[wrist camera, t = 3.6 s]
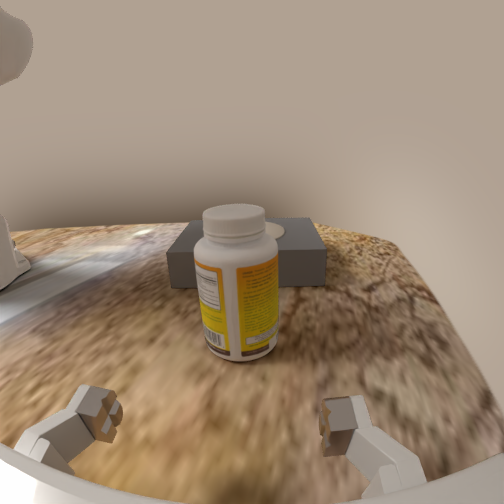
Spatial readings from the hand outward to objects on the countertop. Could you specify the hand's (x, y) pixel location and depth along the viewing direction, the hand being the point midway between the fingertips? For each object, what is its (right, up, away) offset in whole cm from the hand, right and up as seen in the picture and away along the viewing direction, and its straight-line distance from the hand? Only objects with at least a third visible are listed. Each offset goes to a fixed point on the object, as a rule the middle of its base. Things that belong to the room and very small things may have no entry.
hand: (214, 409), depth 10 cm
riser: (+1, +4, +27) cm, 27 cm away
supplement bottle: (+1, -1, +13) cm, 13 cm away
